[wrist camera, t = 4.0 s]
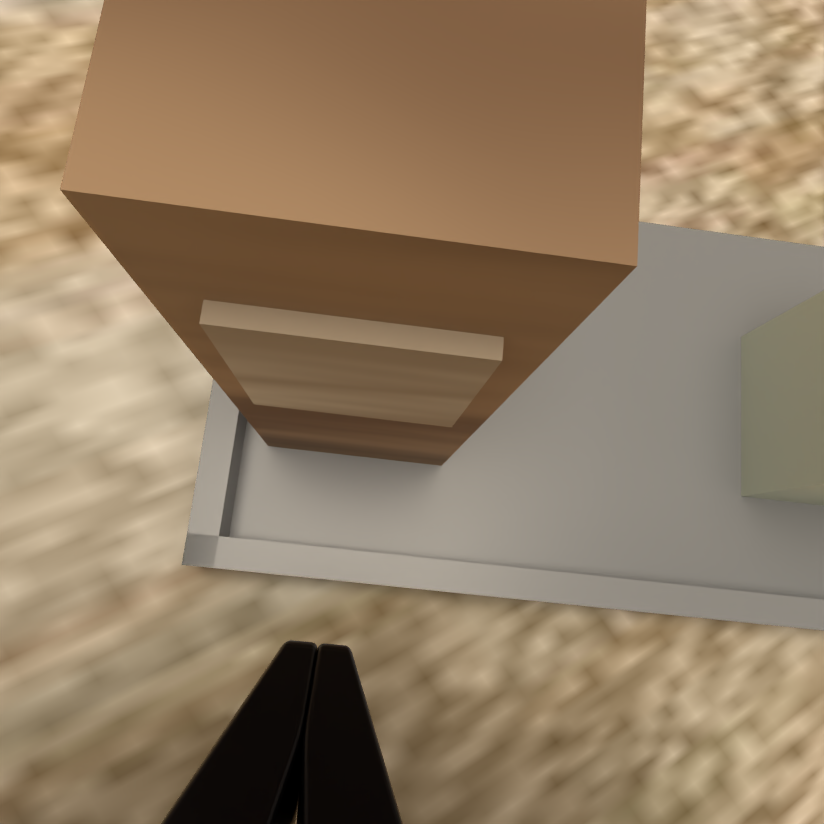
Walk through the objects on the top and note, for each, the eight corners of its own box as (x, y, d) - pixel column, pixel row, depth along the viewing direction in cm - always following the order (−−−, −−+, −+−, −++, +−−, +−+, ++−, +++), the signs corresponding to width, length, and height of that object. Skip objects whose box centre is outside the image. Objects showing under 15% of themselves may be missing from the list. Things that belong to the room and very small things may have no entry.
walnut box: (440, 476, 20) (635, 299, 6) (266, 456, 19) (53, 222, 6) (456, 303, 21) (653, -180, 7) (292, 282, 20) (165, -264, 7)
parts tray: (938, 639, 20) (1000, 648, 18) (199, 563, 19) (182, 564, 17) (916, 269, 23) (968, 242, 21) (262, 180, 22) (253, 143, 20)
